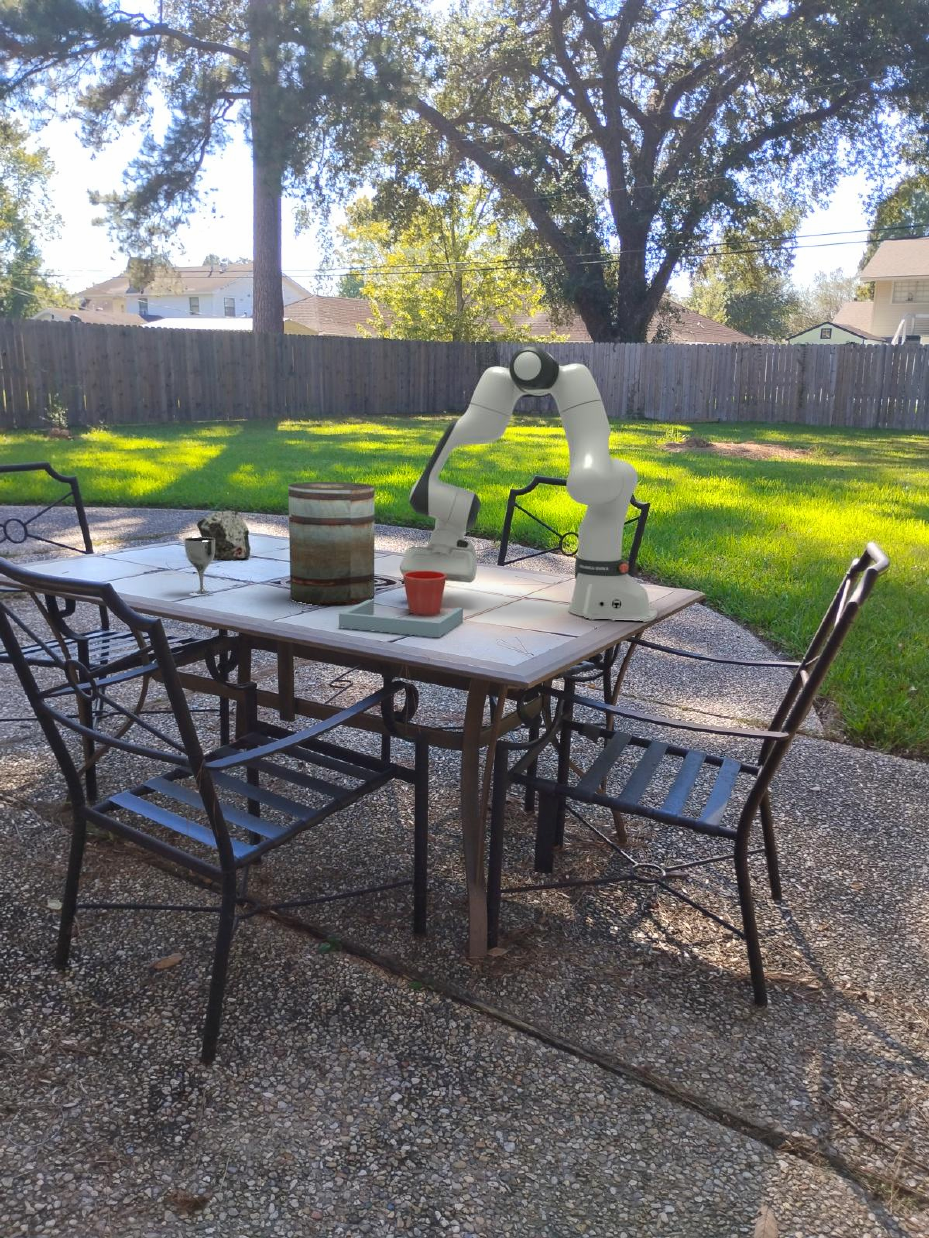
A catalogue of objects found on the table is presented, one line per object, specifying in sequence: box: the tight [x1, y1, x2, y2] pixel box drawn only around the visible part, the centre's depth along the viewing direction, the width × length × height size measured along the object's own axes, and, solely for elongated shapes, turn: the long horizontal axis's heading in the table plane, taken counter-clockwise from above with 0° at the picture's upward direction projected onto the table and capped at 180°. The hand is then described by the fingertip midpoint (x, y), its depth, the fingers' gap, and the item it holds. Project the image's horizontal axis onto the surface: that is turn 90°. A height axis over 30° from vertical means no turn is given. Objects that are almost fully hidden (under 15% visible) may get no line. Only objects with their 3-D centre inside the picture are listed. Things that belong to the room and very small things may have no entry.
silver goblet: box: [184, 536, 215, 594], centre depth 268 cm, size 8×8×15 cm
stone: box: [196, 510, 251, 561], centre depth 327 cm, size 19×18×15 cm
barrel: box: [288, 481, 375, 607], centre depth 266 cm, size 22×22×30 cm
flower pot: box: [402, 571, 446, 616], centre depth 253 cm, size 11×11×10 cm
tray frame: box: [338, 599, 464, 638], centre depth 239 cm, size 25×18×4 cm
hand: (431, 591), depth 258 cm, fingers closed
